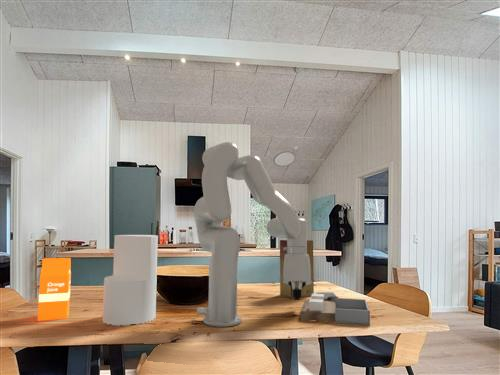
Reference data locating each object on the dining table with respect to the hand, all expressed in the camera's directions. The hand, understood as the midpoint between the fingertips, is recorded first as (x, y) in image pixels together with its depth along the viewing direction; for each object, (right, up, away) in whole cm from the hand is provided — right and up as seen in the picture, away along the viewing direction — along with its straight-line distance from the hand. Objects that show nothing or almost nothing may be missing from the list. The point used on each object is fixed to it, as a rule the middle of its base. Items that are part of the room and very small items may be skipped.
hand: (297, 299), depth 141 cm
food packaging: (+3, -7, +27) cm, 28 cm away
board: (+7, -3, -7) cm, 11 cm away
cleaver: (+15, -6, +19) cm, 25 cm away
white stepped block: (-59, -2, -14) cm, 61 cm away
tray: (+18, -3, -10) cm, 21 cm away
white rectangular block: (+5, 0, -12) cm, 13 cm away
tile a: (+7, -1, -2) cm, 8 cm away
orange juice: (-86, -2, -13) cm, 87 cm away
